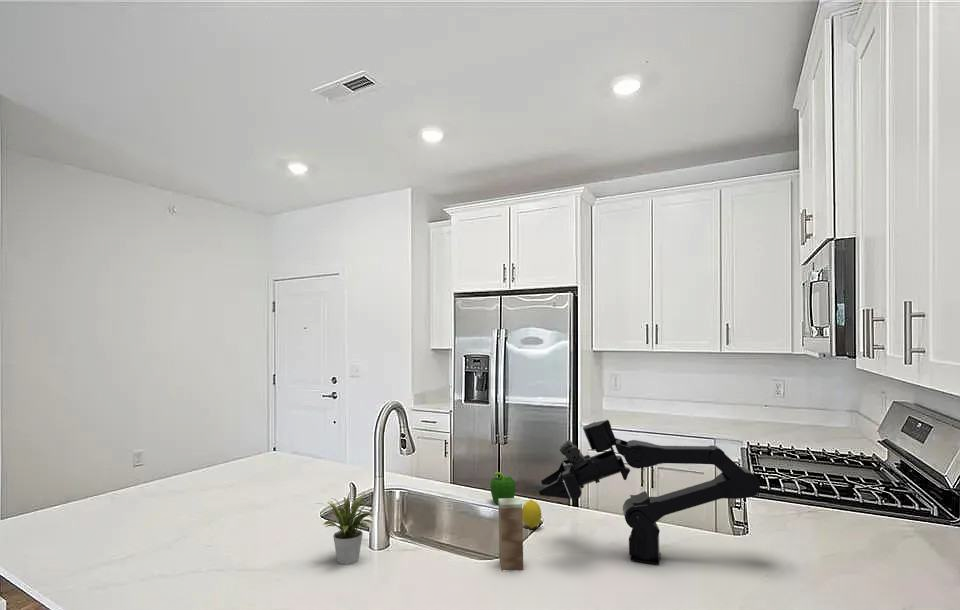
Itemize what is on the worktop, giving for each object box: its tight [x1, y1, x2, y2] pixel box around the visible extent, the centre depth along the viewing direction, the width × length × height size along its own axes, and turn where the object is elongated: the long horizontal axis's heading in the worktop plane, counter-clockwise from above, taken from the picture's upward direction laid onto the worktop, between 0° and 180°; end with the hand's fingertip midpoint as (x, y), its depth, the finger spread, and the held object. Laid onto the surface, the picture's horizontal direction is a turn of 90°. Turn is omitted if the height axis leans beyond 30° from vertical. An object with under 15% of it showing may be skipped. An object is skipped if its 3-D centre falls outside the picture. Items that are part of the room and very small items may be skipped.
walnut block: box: [498, 497, 524, 572], centre depth 123 cm, size 5×5×15 cm
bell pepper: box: [490, 471, 517, 505], centre depth 170 cm, size 8×8×10 cm
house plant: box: [313, 491, 375, 565], centre depth 127 cm, size 14×14×16 cm
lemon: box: [522, 499, 542, 529], centre depth 147 cm, size 6×6×8 cm
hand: (540, 487), depth 131 cm, fingers open, 9 cm apart
